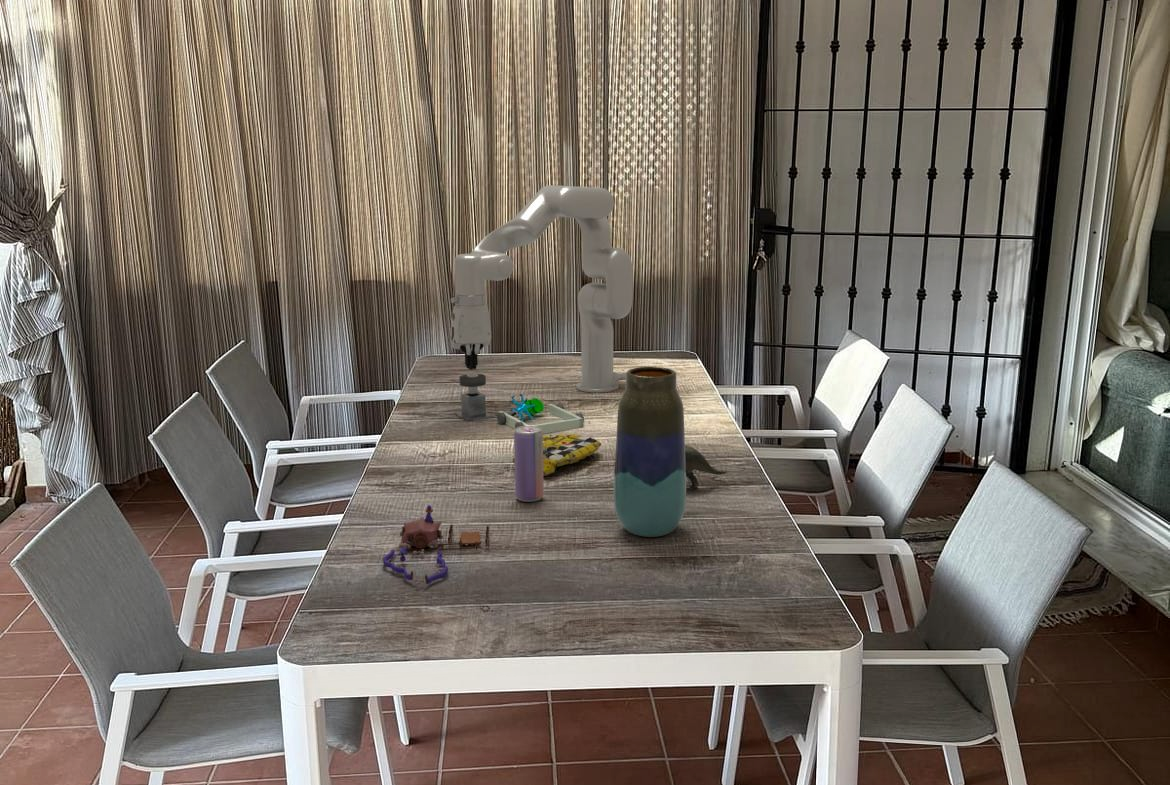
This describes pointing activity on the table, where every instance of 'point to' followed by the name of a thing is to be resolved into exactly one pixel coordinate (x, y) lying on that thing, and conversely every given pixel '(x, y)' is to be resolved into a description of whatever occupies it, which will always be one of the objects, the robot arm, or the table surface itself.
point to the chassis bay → (568, 423)
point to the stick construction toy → (527, 407)
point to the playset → (429, 544)
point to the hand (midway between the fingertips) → (471, 368)
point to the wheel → (472, 381)
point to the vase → (650, 453)
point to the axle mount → (473, 407)
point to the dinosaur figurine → (697, 465)
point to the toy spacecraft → (566, 450)
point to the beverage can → (528, 463)
